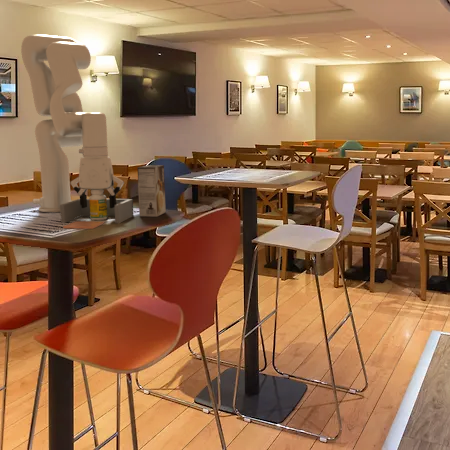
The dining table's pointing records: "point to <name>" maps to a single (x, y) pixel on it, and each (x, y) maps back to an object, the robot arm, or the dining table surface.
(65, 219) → the open box
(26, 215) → the dining table surface
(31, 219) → the dining table surface
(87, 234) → the dining table surface
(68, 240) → the dining table surface
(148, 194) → the coffee box
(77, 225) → the tile
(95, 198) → the supplement bottle
